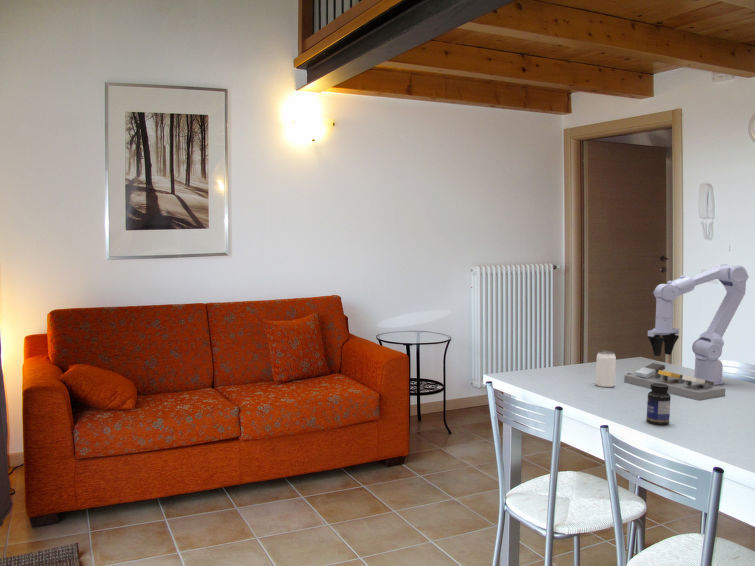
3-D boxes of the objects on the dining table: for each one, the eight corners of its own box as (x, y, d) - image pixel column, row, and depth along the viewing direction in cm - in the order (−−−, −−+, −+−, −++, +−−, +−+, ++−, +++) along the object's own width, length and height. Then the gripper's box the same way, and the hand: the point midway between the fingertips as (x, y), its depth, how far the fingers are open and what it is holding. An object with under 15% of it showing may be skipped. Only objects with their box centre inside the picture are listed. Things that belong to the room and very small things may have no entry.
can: (615, 388, 240) (617, 354, 239) (596, 387, 241) (597, 353, 240) (613, 384, 246) (614, 351, 245) (594, 383, 247) (595, 350, 246)
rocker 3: (699, 383, 236) (700, 379, 236) (713, 386, 232) (714, 382, 232) (682, 379, 231) (682, 375, 231) (695, 382, 227) (696, 377, 227)
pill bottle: (642, 419, 200) (644, 382, 199) (662, 419, 201) (664, 382, 200) (652, 425, 194) (654, 387, 193) (673, 425, 195) (675, 387, 194)
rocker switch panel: (639, 375, 261) (640, 364, 260) (725, 395, 231) (725, 382, 230) (614, 379, 254) (614, 367, 253) (698, 400, 224) (699, 387, 223)
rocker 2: (675, 377, 245) (676, 374, 245) (688, 380, 240) (689, 376, 240) (658, 373, 240) (658, 369, 240) (670, 376, 235) (671, 372, 235)
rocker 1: (653, 366, 253) (653, 362, 252) (665, 368, 248) (664, 365, 248) (635, 375, 248) (634, 371, 248) (646, 378, 244) (646, 374, 243)
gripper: (667, 315, 253) (666, 351, 254) (641, 317, 246) (639, 354, 247) (684, 317, 247) (683, 354, 248) (658, 319, 240) (656, 358, 241)
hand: (662, 355), depth 247 cm, fingers open, 5 cm apart
